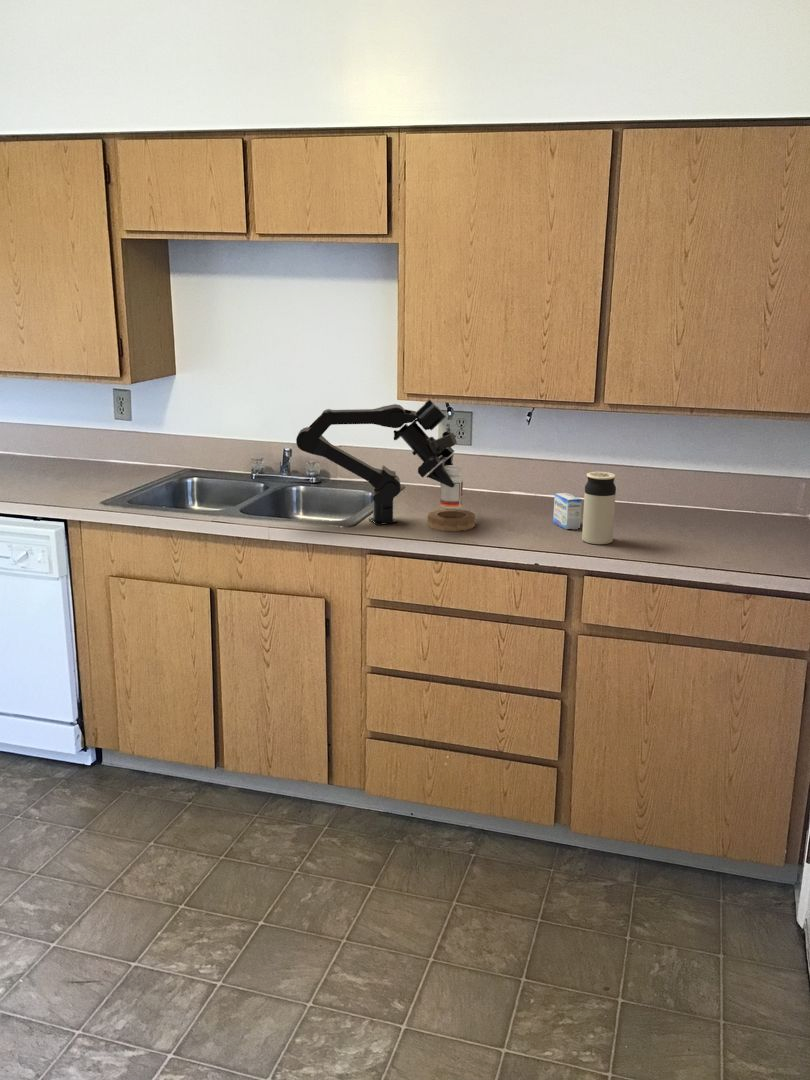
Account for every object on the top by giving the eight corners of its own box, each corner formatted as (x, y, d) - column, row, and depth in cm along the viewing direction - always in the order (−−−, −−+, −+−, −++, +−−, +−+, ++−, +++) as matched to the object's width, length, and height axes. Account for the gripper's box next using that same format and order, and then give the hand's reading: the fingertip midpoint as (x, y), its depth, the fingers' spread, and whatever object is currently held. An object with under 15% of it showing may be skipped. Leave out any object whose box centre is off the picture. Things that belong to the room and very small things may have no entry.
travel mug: (590, 546, 262) (594, 478, 257) (576, 538, 269) (580, 472, 264) (617, 543, 264) (622, 476, 259) (603, 535, 271) (607, 470, 266)
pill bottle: (449, 503, 284) (451, 463, 281) (466, 507, 280) (467, 467, 277) (435, 506, 279) (436, 466, 276) (452, 510, 275) (453, 470, 272)
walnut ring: (420, 521, 284) (420, 511, 283) (460, 517, 289) (461, 507, 289) (441, 533, 273) (441, 522, 272) (483, 528, 278) (483, 517, 277)
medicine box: (552, 523, 283) (553, 493, 281) (566, 522, 285) (568, 492, 283) (566, 530, 276) (568, 499, 274) (580, 529, 278) (582, 498, 275)
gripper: (430, 428, 266) (469, 472, 266) (448, 417, 283) (484, 459, 283) (401, 455, 270) (439, 498, 270) (420, 443, 287) (456, 484, 287)
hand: (456, 484), depth 277 cm, fingers closed on pill bottle, 6 cm apart
